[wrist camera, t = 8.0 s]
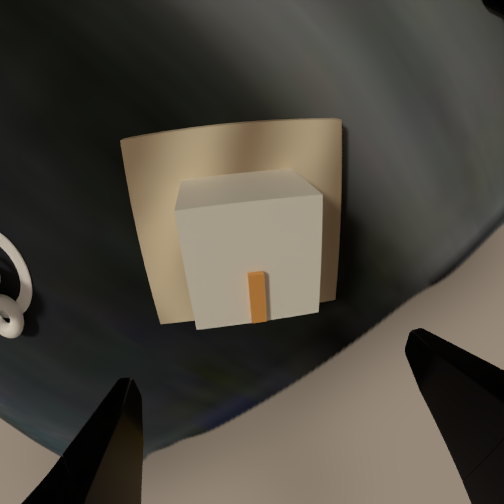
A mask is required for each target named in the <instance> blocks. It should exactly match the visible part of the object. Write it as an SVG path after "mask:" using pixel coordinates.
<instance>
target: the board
mask: <svg viewBox="0 0 504 504" xmlns="http://www.w3.org/2000/svg"><path fill="white" fill-rule="evenodd" d="M120 142H121V148H122V155H123V161H124V167H125V173H126V179H127V184H128V190H129V195H130V200H131V205H132V210H133V215H134V220H135V225H136V229H137V234H138V238H139V243H140V247H141V251H142V255H143V260H144V264H145V268H146V272H147V276H148V280H149V283H150V287H151V291H152V295H153V298H154V302H155V306H156V309H157V313H158V316H159V320H160V323H161V324H167V323H176V322H185V321H194V320H195V319H194V314H193V310H192V305H191V300H190V295H189V290H188V285H187V280H186V275H185V270H184V265H183V259H182V254H181V248H180V243H179V237H178V231H177V225H176V219H175V213H174V209H175V205H176V201H177V197H178V192H179V188H180V184H181V181H182V180H186V179H193V178H201V177H209V176H218V175H227V174H236V173H246V172H256V171H267V170H279V169H293V170H294V171H295V172H297V173H298V174H299V175H300V176H301V177H303V178H304V179H305V180H306V181H307V182H309V183H310V184H311V185H312V186H313V187H315V188H316V189H317V190H318V191H319V192H321V193H322V194H323V214H322V252H321V277H320V296H319V302H325V301H331V300H335V297H336V286H337V273H338V258H339V241H340V220H341V188H342V120H341V119H337V118H307V119H281V120H263V121H249V122H237V123H227V124H217V125H208V126H199V127H192V128H184V129H177V130H170V131H164V132H157V133H151V134H145V135H140V136H134V137H129V138H124V139H122V140H120Z"/></svg>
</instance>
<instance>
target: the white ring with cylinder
mask: <svg viewBox="0 0 504 504" xmlns="http://www.w3.org/2000/svg"><path fill="white" fill-rule="evenodd" d="M0 247H1V248H2V249H3V250H4V251H5V252H6V253H7V254H8V255H9V256H10V258H11V259H12V261H13V263H14V264H15V266H16V268H17V271H18V274H19V278H20V284H21V288H20V294H19V297H18V299H17V300H16V301H14V300H13V299H12V298H10V297H9V296H6V295H3V294H0V334H1V335H2V336H4V337H7V338H15V337H17V336H19V335H20V334H21V332H22V331H23V326H24V318H23V313H24V312H25V311H26V310H27V308H28V307H29V305H30V302H31V299H32V282H31V277H30V274H29V271H28V268H27V265H26V263H25V261H24V259H23V258H22V256H21V254H20V253H19V251H18V250H17V248H16V247H15V246H14V245H13V244H12V243H11V241H10V240H9V239H7V238H6V237H5V236H4V235H3V234H1V233H0ZM0 281H1V277H0ZM3 318H10V323H7V322H6V321H5V320H4V319H3Z"/></svg>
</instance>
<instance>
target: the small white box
mask: <svg viewBox="0 0 504 504" xmlns="http://www.w3.org/2000/svg"><path fill="white" fill-rule="evenodd" d="M174 213H175V219H176V225H177V231H178V237H179V243H180V248H181V254H182V259H183V265H184V270H185V275H186V280H187V285H188V290H189V295H190V300H191V305H192V310H193V314H194V319H195V324H196V328H197V330H199V329H207V328H215V327H223V326H231V325H239V324H246V323H258V322H265V321H267V320H273V319H280V318H286V317H292V316H298V315H304V314H310V313H316V312H319V296H320V277H321V252H322V214H323V194H322V193H321V192H319V191H318V190H317V189H316V188H315V187H313V186H312V185H311V184H310V183H309V182H307V181H306V180H305V179H304V178H303V177H301V176H300V175H299V174H298V173H297V172H295V171H294V170H293V169H279V170H267V171H256V172H246V173H236V174H227V175H218V176H209V177H201V178H193V179H186V180H182V181H181V184H180V188H179V192H178V197H177V201H176V205H175V209H174Z"/></svg>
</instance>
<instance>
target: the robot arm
mask: <svg viewBox="0 0 504 504" xmlns="http://www.w3.org/2000/svg"><path fill="white" fill-rule="evenodd" d="M483 2H484V3H485V5H487V6H488V7H490V8H492V9H494V10H496V11H498V12H500V13H502V14H504V0H483ZM405 353H406V357H407V359H408V361H409V364H410V367H411V369H412V372H413V374H414V377H415V379H416V382H417V384H418V387H419V390H420V392H421V394H422V396H423V398H424V400H425V401H426V403H427V406H428V407H429V409H430V411H431V414H432V415H433V418H434V420H435V422H436V424H437V426H438V428H439V430H440V432H441V434H442V436H443V439H444V441H445V443H446V445H447V447H448V449H449V451H450V454H451V456H452V458H453V460H454V463H455V465H456V467H457V469H458V471H459V474H460V476H461V479H462V480H463V484H464V486H465V489H466V491H467V493H468V496H469V499H470V501H471V504H504V370H500V368H498V367H496V366H494V365H492V364H490V363H489V362H487V361H485V360H483V359H481V358H479V357H477V356H475V355H473V354H471V353H469V352H467V351H465V350H463V349H461V348H459V347H458V346H456V345H454V344H452V343H450V342H447V341H446V340H444V339H442V338H440V337H438V336H436V335H434V334H432V333H430V332H428V331H426V330H425V329H422V328H418V329H415V330H412V331H411V332H410V333H409V336H408V340H407V343H406V347H405ZM143 444H144V440H143V418H142V398H141V394H140V392H139V390H138V388H137V386H136V383H135V381H134V380H133V379H132V378H120V379H119V380H118V381H117V382H116V384H115V385H114V386H113V388H112V389H111V390H110V391H109V393H108V394H107V395H106V397H105V398H104V399H103V401H102V402H101V403H100V405H99V406H98V407H97V409H96V410H95V411H94V413H93V414H92V415H91V417H90V418H89V419H88V421H87V422H86V423H85V425H84V426H83V427H82V429H81V430H80V431H79V433H78V434H77V436H76V437H75V438H74V440H73V441H72V442H71V444H70V445H69V446H68V448H67V449H66V450H65V452H64V453H63V456H61V457H60V459H59V460H58V461H57V463H56V464H55V465H54V467H53V468H52V469H51V471H50V472H49V473H48V474H47V476H46V477H45V478H44V479H43V480H42V481H41V483H40V484H39V485H38V486H37V487H36V488H35V489H34V491H33V492H32V493H31V494H30V495H29V496H28V497H27V498H26V499H25V500H24V501H23V502H22V504H141V485H142V463H143Z"/></svg>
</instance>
